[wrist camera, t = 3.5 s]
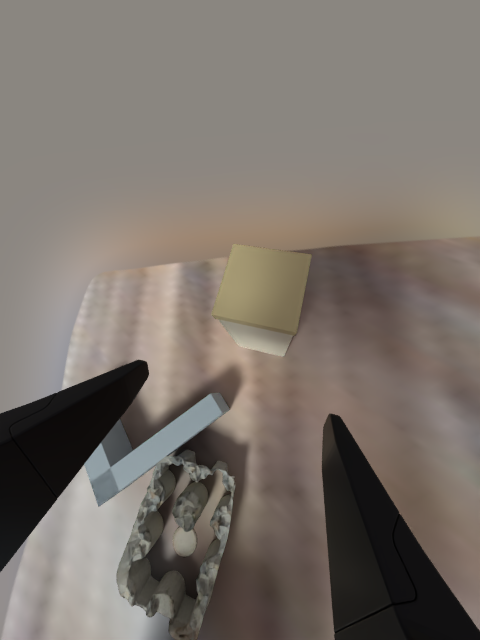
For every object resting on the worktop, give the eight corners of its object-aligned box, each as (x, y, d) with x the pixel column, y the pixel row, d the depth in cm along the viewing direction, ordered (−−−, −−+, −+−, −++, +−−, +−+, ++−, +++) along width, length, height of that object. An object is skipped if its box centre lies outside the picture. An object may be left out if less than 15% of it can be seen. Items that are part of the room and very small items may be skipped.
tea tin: (284, 358, 22) (296, 332, 12) (237, 346, 23) (211, 314, 13) (293, 312, 24) (311, 254, 13) (249, 304, 25) (233, 244, 14)
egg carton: (208, 610, 17) (191, 675, 13) (132, 564, 19) (97, 610, 15) (246, 468, 20) (240, 488, 16) (176, 439, 22) (156, 450, 18)
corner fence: (230, 409, 21) (222, 413, 18) (126, 487, 21) (98, 506, 17) (184, 336, 25) (171, 329, 21) (93, 402, 24) (64, 404, 20)
